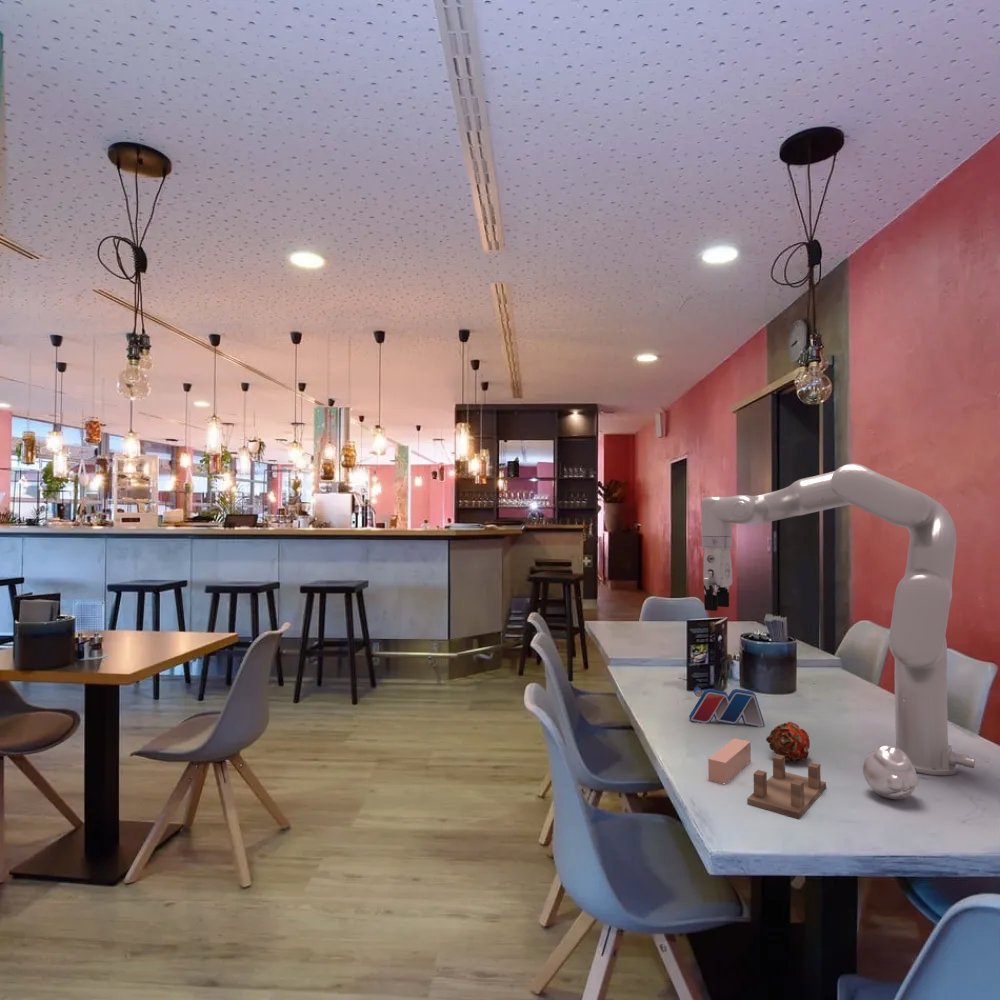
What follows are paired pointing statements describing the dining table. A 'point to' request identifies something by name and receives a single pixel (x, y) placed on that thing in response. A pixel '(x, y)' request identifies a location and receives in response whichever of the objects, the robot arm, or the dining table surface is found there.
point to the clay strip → (729, 760)
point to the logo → (727, 707)
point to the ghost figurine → (890, 772)
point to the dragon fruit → (789, 741)
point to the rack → (786, 789)
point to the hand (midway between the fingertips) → (717, 608)
